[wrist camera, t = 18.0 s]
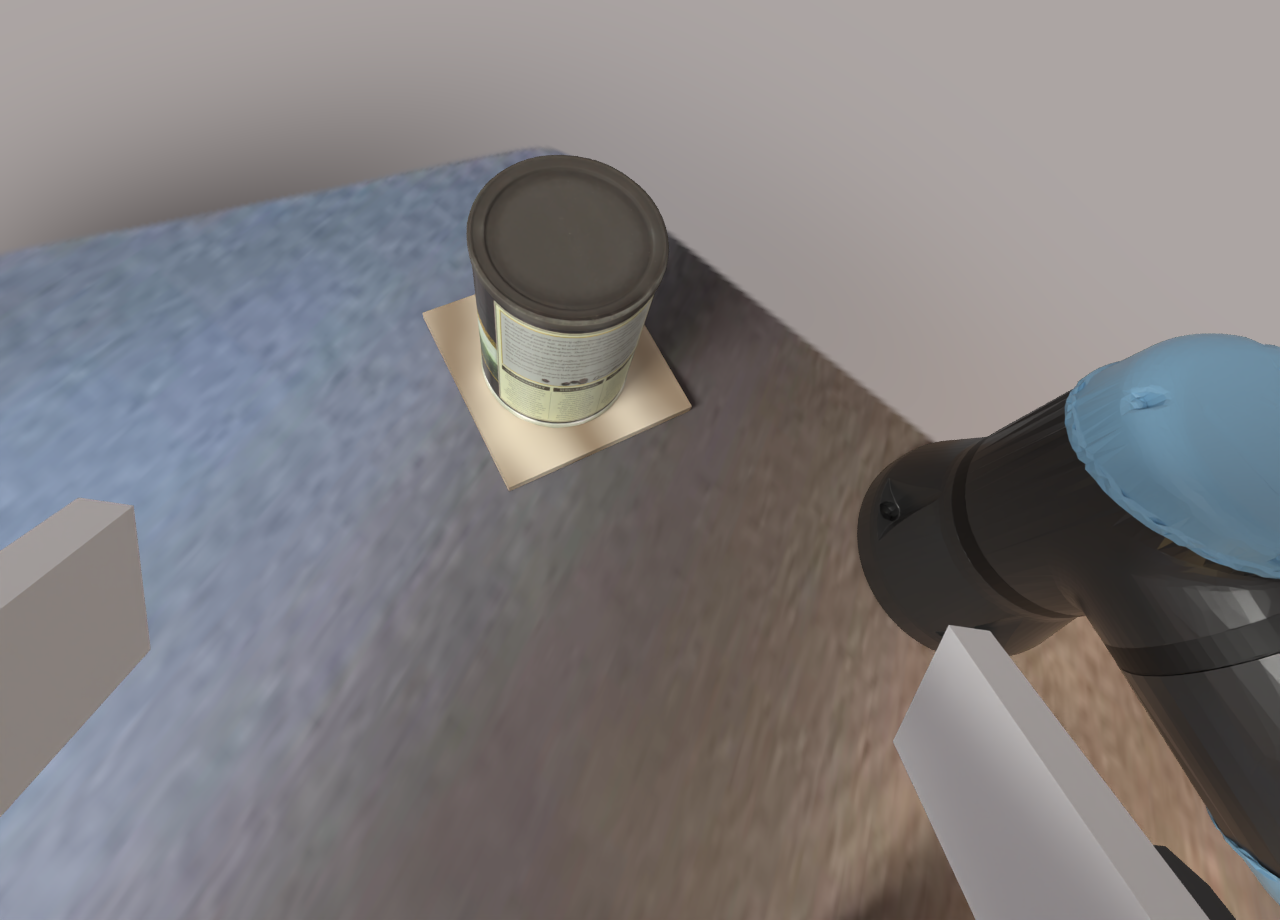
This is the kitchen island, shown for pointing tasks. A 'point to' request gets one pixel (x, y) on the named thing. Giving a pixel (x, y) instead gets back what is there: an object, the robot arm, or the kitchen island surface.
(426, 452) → the kitchen island surface
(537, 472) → the birch board
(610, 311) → the coffee can
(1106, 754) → the kitchen island surface
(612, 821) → the kitchen island surface
